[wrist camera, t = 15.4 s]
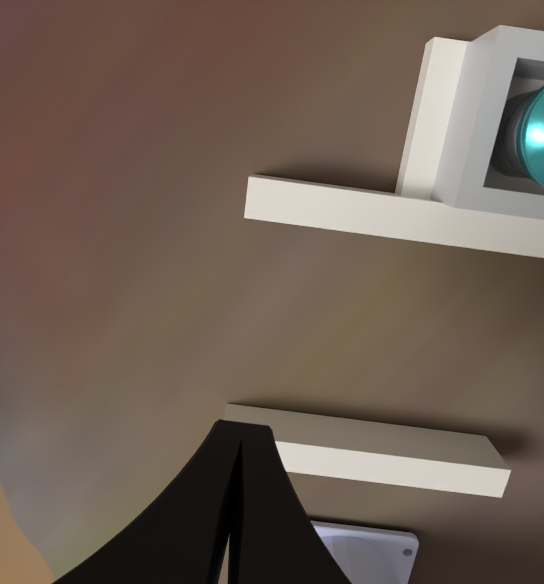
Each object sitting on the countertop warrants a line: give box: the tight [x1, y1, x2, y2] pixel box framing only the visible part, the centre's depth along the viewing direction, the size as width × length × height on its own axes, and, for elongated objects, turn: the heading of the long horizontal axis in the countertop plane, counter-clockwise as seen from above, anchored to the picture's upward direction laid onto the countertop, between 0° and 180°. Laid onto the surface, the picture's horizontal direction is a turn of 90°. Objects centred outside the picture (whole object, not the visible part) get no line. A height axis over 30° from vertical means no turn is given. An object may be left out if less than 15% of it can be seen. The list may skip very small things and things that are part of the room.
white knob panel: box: [223, 25, 544, 498], centre depth 18 cm, size 18×21×4 cm
